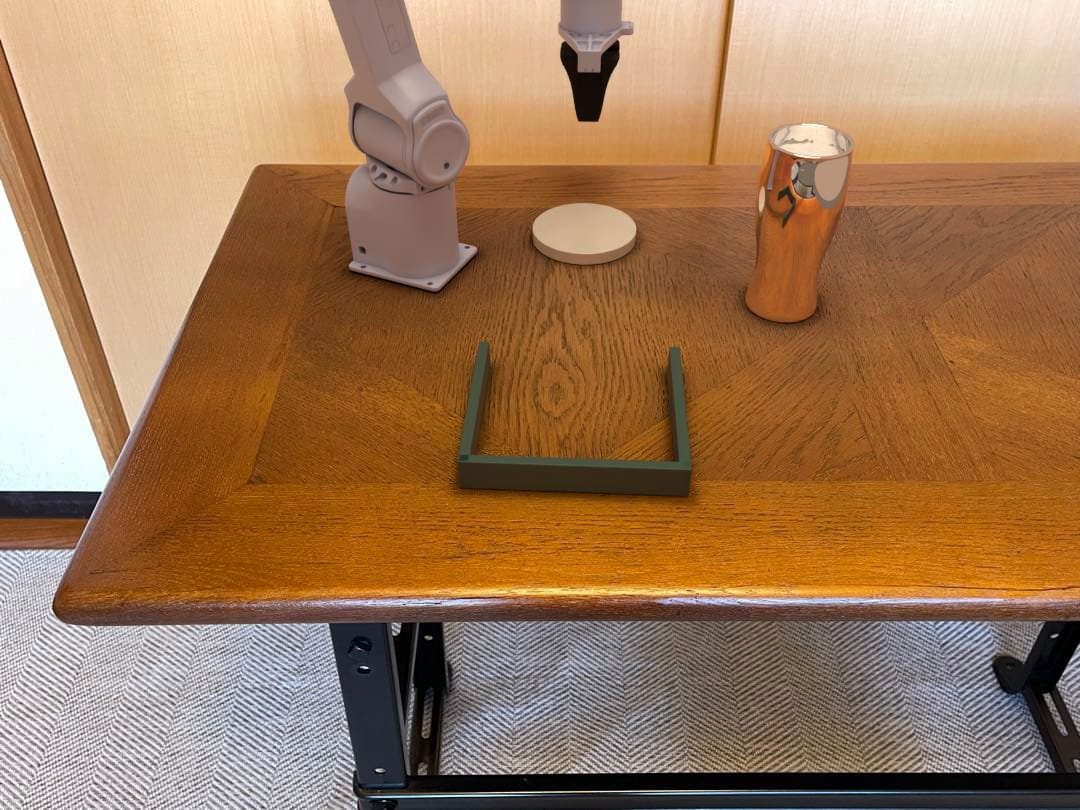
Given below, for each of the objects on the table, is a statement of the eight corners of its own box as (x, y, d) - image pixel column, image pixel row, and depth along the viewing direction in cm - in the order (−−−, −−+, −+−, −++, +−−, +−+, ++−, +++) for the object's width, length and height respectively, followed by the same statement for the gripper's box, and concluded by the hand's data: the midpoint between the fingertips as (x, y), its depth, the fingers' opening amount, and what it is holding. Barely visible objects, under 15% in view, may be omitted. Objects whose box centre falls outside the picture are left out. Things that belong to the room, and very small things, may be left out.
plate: (515, 251, 88) (514, 240, 87) (557, 206, 95) (557, 195, 94) (613, 274, 85) (614, 262, 84) (650, 225, 92) (651, 214, 91)
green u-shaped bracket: (480, 366, 74) (479, 341, 72) (676, 372, 73) (679, 346, 72) (459, 488, 63) (456, 461, 62) (688, 496, 63) (692, 469, 61)
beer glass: (822, 330, 78) (860, 162, 68) (738, 321, 79) (764, 154, 69) (820, 286, 83) (855, 124, 73) (741, 278, 84) (765, 118, 74)
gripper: (638, -2, 78) (629, 150, 87) (634, -47, 89) (627, 92, 98) (554, -3, 78) (554, 149, 87) (561, -48, 89) (560, 91, 98)
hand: (588, 119), depth 92 cm, fingers closed
